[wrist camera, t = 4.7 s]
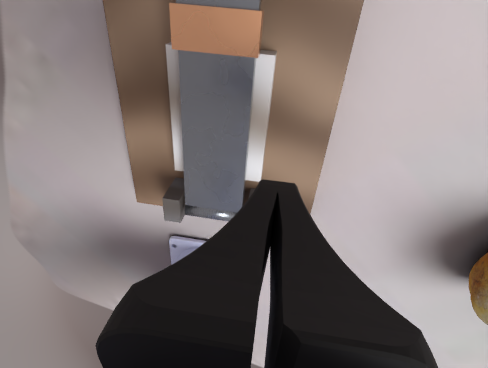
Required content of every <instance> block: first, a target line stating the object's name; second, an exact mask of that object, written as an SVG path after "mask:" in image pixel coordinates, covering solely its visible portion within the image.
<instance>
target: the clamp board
mask: <svg viewBox="0 0 488 368" xmlns="http://www.w3.org/2000/svg"><path fill="white" fill-rule="evenodd" d="M363 2H364V0H261V10H264V17H263V28H262V39H261V49H260V56H259V57H258V58H256V67H255V78H254V89H253V101H252V112H251V124H250V135H249V146H248V158H247V169H246V181H245V192H244V203H243V205H244V204H245V203H246V201H247V200H248V199H249V198H250V196H251V195H252V193H253V192H254V190H255V189H256V187H257V185H258V183H259V181H261V180H262V179H264V180H273V181H281V182H289V183H295V184H296V185H297V187H298V190H299V193H300V195H301V198H302V200H303V202H304V204H305V206H306V208H307V210H308V212H309V214H310V213H311V209H312V205H313V201H314V197H315V193H316V189H317V185H318V181H319V177H320V173H321V169H322V165H323V161H324V157H325V153H326V149H327V145H328V141H329V137H330V133H331V129H332V125H333V121H334V117H335V113H336V109H337V105H338V101H339V98H340V94H341V90H342V86H343V82H344V78H345V74H346V70H347V66H348V62H349V58H350V54H351V50H352V46H353V42H354V38H355V34H356V30H357V26H358V22H359V18H360V14H361V10H362V6H363ZM169 3H176V0H103V5H104V11H105V17H106V23H107V29H108V35H109V40H110V46H111V52H112V58H113V64H114V70H115V76H116V82H117V87H118V93H119V99H120V105H121V111H122V117H123V123H124V128H125V134H126V140H127V146H128V152H129V158H130V164H131V170H132V175H133V181H134V187H135V193H136V199H137V202H140V203H146V204H153V205H160V206H163V210H164V219H165V220H166V221H172V222H179V223H181V221H182V219H183V217H184V215H185V189H184V167H183V145H182V123H181V100H180V78H179V56H178V50H174V49H172V46H171V28H170V10H169Z"/></svg>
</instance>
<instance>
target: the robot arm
mask: <svg viewBox="0 0 488 368" xmlns="http://www.w3.org/2000/svg"><path fill="white" fill-rule="evenodd" d="M174 244H175V245H174ZM169 247H170V256H171V266H169V267H167V268H165V269H164V270H162V271H160V272H158V273H156V274H154V275H152V276H150V277H148V278H146V279H144V280H141V281H139V282H137V283H135V284H133V285H132V286H131V287H130V289H129V290H128V292H127V293H126V294H125V296H124V297H123V298H122V300H121V301H120V302H119V304H118V305H117V307H116V308H115V310H114V311H113V313H112V315H111V317H110V319H109V320H108V322H107V324H106V325H105V327H104V329H103V331H102V333H101V334H100V336H99V338H98V340H97V343H96V350H97V354H98V357H99V360H100V362H101V364H102V366H103V368H251V360H252V352H253V343H254V335H255V327H256V318H257V310H258V302H259V295H260V291H261V286H262V282H263V277H264V272H265V268H266V263H267V259H268V254H269V249H270V314H269V325H268V336H267V346H266V357H265V367H264V368H438V366H437V364H436V361H435V359H434V357H433V354H432V352H431V350H430V348H429V346H428V344H427V342H426V340H425V338H424V336H423V334H422V332H421V330H420V329H418V328H417V327H416V326H415V325H413V324H412V323H411V322H409V321H408V320H407V319H406V318H404V317H403V316H402V315H400V314H399V313H398V312H397V311H395V310H394V309H393V308H392V307H390V306H389V305H388V304H387V303H385V302H384V301H383V300H382V299H381V298H380V297H379V296H377V295H376V294H375V293H374V292H373V291H372V290H371V289H370V288H368V287H367V286H366V285H365V284H364V283H363V282H362V281H361V280H360V279H359V278H358V277H357V276H356V275H355V274H354V273H353V272H352V271H351V270H350V269H349V267H348V266H347V265H346V264H345V263H344V262H343V261H342V260H341V259H340V257H339V256H338V255H337V254H336V252H335V251H334V250H333V249H332V247H331V246H330V245H329V243H328V242H327V241H326V239H325V238H324V236H323V235H322V233H321V232H320V230H319V229H318V227H317V226H316V224H315V222H314V221H313V219H312V217H311V215H310V214H309V212H308V210H307V208H306V206H305V204H304V202H303V200H302V198H301V195H300V193H299V190H298V187H297V185H296V184H295V183H289V182H281V181H273V180H264V179H262V180H261V181H259V183H258V185H257V187H256V189H255V190H254V192H253V193H252V195H251V196H250V198H249V199H248V200H247V201H246V203H245V204H244V205H243V207H242V208H241V209H240V210H239V211H238V212H237V213H236V214H235V216H234V217H233V218H232V219H231V220H230V221H229V222H228V223H227V224H226V225H225V226H224V227H223V228H222V229H221V230H220V231H218V232H217V233H216V234H215V235H214V236H213V237H211V238H210V239H209V240H208V241H204V240H197V239H191V238H185V237H178V236H171V237H170V239H169Z"/></svg>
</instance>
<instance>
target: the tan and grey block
mask: <svg viewBox="0 0 488 368" xmlns="http://www.w3.org/2000/svg"><path fill="white" fill-rule="evenodd" d="M169 10H170V28H171V46H172V49H174V50H178V56H179V78H180V100H181V123H182V145H183V167H184V189H185V215H190V216H197V217H203V218H210V219H216V220H223V221H230V220H231V219H232V218H233V217H234V216H235V214H236V213H237V212H238V211H239V210H240V209H241V208H242V207H243V203H244V192H245V181H246V169H247V158H248V146H249V135H250V124H251V112H252V101H253V89H254V78H255V67H256V58H258V57H259V56H260V49H261V39H262V28H263V17H264V10H261V0H176V3H169Z"/></svg>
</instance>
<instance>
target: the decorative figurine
mask: <svg viewBox="0 0 488 368" xmlns="http://www.w3.org/2000/svg"><path fill="white" fill-rule="evenodd" d="M469 290H470V294H471V302H472V306H473V309H474V311H475V312H476V314H477V316H478V317H479V318H480V319H481V320H482V321H483V322H484V323H486V324H487V325H488V252H487V254H485V255H484V256H482V257H481V258H480V259H479V260H478V261H477V262H476V263H475V265H474V266H473V267H472V269H471V271H470V274H469Z"/></svg>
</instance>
